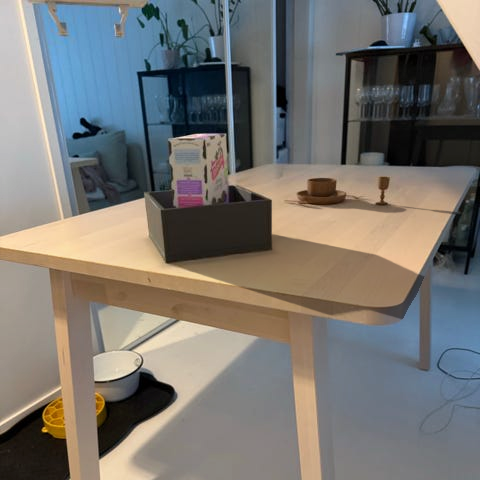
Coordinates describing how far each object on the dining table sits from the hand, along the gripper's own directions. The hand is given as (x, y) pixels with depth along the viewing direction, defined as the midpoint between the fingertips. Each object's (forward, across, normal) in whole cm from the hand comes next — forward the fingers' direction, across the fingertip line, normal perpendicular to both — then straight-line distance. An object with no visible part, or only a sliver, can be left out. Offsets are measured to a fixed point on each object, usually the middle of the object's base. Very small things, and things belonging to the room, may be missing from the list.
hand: (92, 36), depth 79 cm
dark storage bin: (+33, +14, -20) cm, 41 cm away
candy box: (+32, +14, -20) cm, 40 cm away
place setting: (+33, +50, +2) cm, 60 cm away
